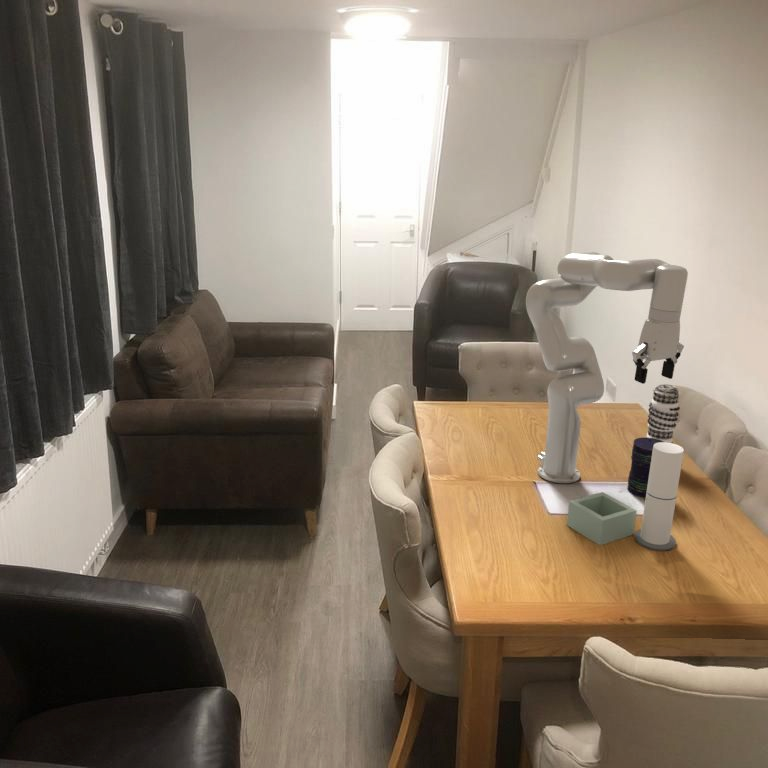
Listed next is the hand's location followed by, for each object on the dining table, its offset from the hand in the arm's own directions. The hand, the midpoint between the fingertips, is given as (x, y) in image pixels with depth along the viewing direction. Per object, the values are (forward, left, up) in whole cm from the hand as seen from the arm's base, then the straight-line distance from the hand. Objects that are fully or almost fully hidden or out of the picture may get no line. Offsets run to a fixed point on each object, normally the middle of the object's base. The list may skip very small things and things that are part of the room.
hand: (653, 379), depth 202 cm
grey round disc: (+12, -6, -39) cm, 42 cm away
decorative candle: (-24, +36, -39) cm, 58 cm away
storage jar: (-10, +15, -39) cm, 43 cm away
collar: (+1, -14, -39) cm, 42 cm away
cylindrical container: (+12, -6, -39) cm, 41 cm away
